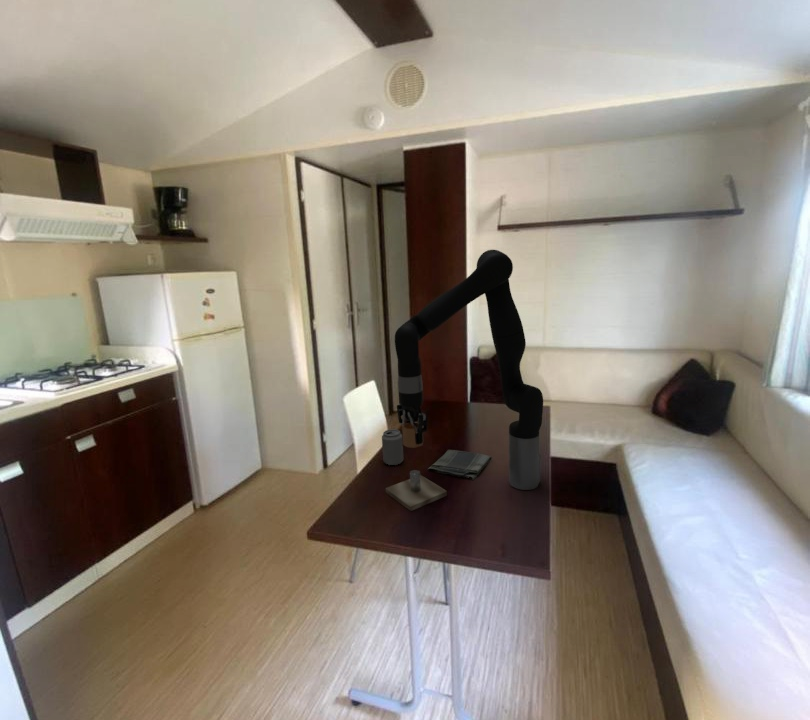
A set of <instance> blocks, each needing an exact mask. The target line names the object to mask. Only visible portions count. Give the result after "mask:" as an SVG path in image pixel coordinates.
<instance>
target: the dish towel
mask: <svg viewBox="0 0 810 720" xmlns="http://www.w3.org/2000/svg"><path fill="white" fill-rule="evenodd" d="M492 459H493V458H492V456H490V455H487V454H482V453H477V452H470V451H464V450H463V451H462V450H457V449H447V450H446V452H445V453H444V454H442V456H441V457H440V458H438V459H437V460H436V461H435V462H434V463H433V464H431V466H429V467H428V468H427V471H428V472H430V471H431V472H434V473H437V474H440V473H441V475H445V476H447V475H446V474H450V475H449V476H451V475H454V476H455V477H454V478H458V476H460V477H465V478H464V479H467V478H466V477H469V478H471V479H472V480H473V481H474V480H475V479H476V478H477V477H478V476H479V474H480V473H481V472H482V471H483V469H485V467H486V466H488V464H489V463H490V460H491V461H492ZM488 462H489V463H488ZM487 463H488V464H487ZM481 470H482V471H481ZM477 475H478V476H477ZM456 476H457V477H456ZM471 479H470V480H471ZM472 480H471V481H472Z"/></svg>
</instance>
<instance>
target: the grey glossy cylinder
mask: <svg viewBox="0 0 810 720" xmlns="http://www.w3.org/2000/svg"><path fill="white" fill-rule="evenodd" d="M420 475H421V471H420V470H417V469H413V470H410V471H409V479H410V485H411V491H412V492H419V491H420V490H421V483H420Z"/></svg>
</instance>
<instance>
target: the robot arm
mask: <svg viewBox="0 0 810 720" xmlns="http://www.w3.org/2000/svg"><path fill="white" fill-rule="evenodd" d="M513 270H514V265H513V261H512V259H511V258H510V257H509V256H508V255H507V254H506V253H504V252H502V251H500V250H497V249H488V250H486V251H483V252H482V253H481V255H479V257H478V258H477V262H476V269H474V270H473V272H472V273H471V274H469V275H468V277H466V278H464V280H462V281H461V282H460V283H459V284H456V285H455V286H454V287H452V288H450V289H449V290H447V291H445V292H443V293H441V294H440V295H439V296H437V297H436V298H434V299H433V300H432V301H431V302H429V303H428V304H427V305H425V307H423V308H422V309H421V310H420V311H419V312H418V313H417V314H415V315H414V316H412V317H411V318H409V319H408V320H407V321H406V322H404V323H403V324H402V325H400V327H398V328H397V330H395V334H394V347H395V352H396V353H395V354H396V358H397V376H398V377H397V388H398V389H397V391H398V404H397V405H396V411H397V419H398V423H399V424H401V427H402V426H403V424H406V423H410V422H411V424H412V426H413V427H414V429H415V439H416V444H417V445H418V444H422V443H423V444H424V433H425V432H427V431H428V422H429V421H428V417H429V416H428V413H427V412H426V413H423V412H422V408H421V406H422V405H423V403H424V386H423V378H422V364H421V363H422V362H421V357H420V355H419V341H420V340H422V339H423V338H425V336H426V335H428V334H429V333H430V332H431V331H435V330H436V329H438V328H439V327H440V326H441V325H443V324H444V323H445V322H447V321H449V319H450V318H452V317H454V316H455V315H456V314H457V313H458V312H459V311H461V310H463V309H464V308H465V307H466V306H468V305H469V304H471V303H472V302H473V301H475V300H476V299H477V298H479V297H481V296H483V295H485V299H486V304H487V313H488V321H489V326H490V331H491V337H492V340H493V341H492V343H493V346H494V349H495V353H496V357H497V363H498V368H499V375H500V381H501V390H502V398H503V402H504V404H505V406H506V408H508V409H509V410H511V411H513V412H516V413H518V420H515V421H513V422H511V423H510V424H509V427H508V483H509V485H510V486H511V487H513V488H515V489H518V490H522V491H529V490H530V491H531V490H534V489H536V488H538V486H539V484H540V483H541V463H542V462H541V461H542V459H541V458H542V456H541V454H540V429H541V427H542V424H543V412H544V411H543V410H544V396H543V393H542V391H541V389H540V388H538V387H536V386H533V385H530V384H527V383H524V380H523V378H522V377H523V376H522V372H521V361H522V358H523V355H524V353H525V351H526V337H525V331H524V326H523V322H522V320H521V316H520V313H519V311H518V309H517V305H516V304H515V301H514V299H513V296H512V295H513V294H512V292H511V288H510V280H509V279H510V278H511V276H512V274H513ZM415 422H417V423H415ZM417 425H418V428H417ZM423 444H422V445H423Z"/></svg>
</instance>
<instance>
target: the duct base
mask: <svg viewBox="0 0 810 720" xmlns="http://www.w3.org/2000/svg"><path fill="white" fill-rule="evenodd" d="M420 483H421V490H420V491H419V492H412V491H411V485H410V478H409V479H406V480H403V481H401V482H398V483H396V484H393V485H390V486H387V487H386V488H385V493H386V494H387V495H389V496H390V497H391V498H393V499H394V500H395V501H396V502H398V503H399V504H400V505H402V506H403V507H404V508H406V509H407V510H408V511H409V512H412V511H414V510H417V509H419V508H422V507H424V506H426V505H428V504H430V503H433V502H435V501H439V500H440V499H442V498H445V497H447V496H448V491H447V490H446V489H444V488H443V487H441V486H440V485H438V484H436V483H435V482H433V481H431V479H430V480H429V479H428V478H426V477H425V476H423V475H421V474H420Z"/></svg>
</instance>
